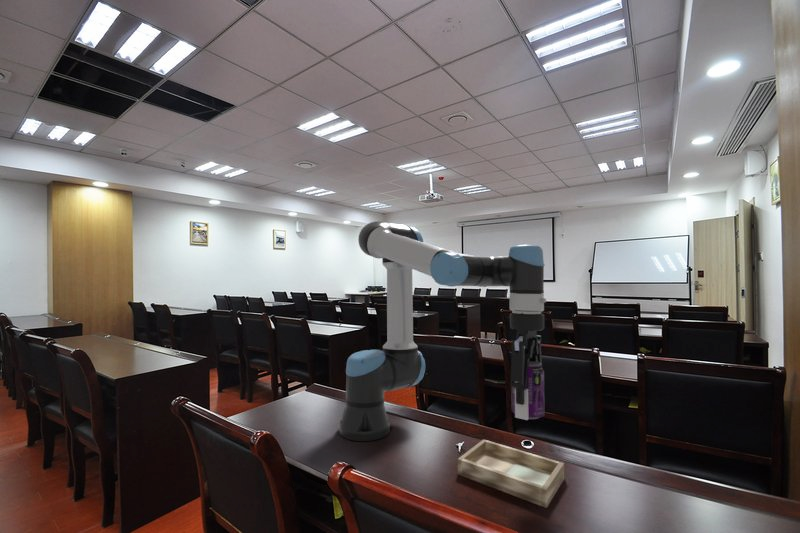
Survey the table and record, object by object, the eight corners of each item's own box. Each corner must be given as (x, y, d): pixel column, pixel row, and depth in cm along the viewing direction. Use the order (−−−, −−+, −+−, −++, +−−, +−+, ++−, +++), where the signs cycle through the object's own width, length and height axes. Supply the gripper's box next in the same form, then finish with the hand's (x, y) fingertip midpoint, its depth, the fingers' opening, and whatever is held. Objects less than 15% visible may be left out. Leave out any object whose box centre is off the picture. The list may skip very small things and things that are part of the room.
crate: (457, 474, 83) (457, 458, 83) (483, 452, 94) (483, 439, 94) (546, 508, 71) (546, 490, 71) (564, 478, 82) (564, 463, 82)
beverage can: (547, 422, 77) (546, 366, 77) (513, 419, 78) (513, 364, 79) (541, 411, 83) (540, 359, 84) (510, 408, 85) (509, 358, 86)
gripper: (528, 315, 72) (529, 431, 71) (555, 311, 88) (557, 405, 86) (493, 313, 77) (494, 422, 75) (525, 309, 92) (526, 399, 91)
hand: (527, 413), depth 81 cm, fingers closed on beverage can, 7 cm apart
